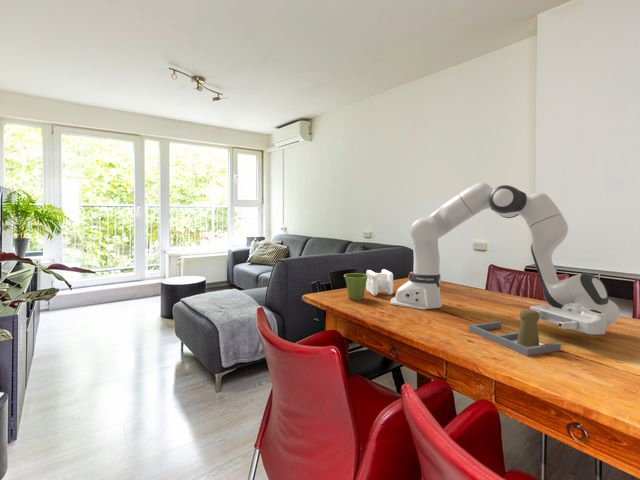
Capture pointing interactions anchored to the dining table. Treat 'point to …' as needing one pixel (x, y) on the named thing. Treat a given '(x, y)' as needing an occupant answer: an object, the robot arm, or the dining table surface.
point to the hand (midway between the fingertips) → (545, 320)
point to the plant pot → (356, 285)
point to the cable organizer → (379, 282)
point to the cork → (528, 328)
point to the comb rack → (511, 339)
